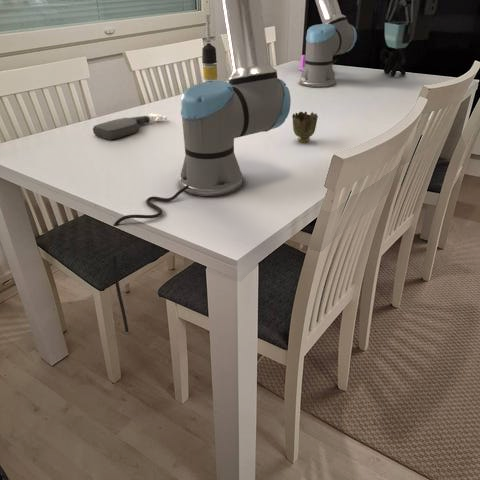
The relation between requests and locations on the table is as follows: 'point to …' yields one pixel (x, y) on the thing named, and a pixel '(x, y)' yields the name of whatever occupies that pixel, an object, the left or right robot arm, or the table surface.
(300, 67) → the bracket
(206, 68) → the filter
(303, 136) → the cup
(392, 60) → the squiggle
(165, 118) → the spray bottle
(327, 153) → the table surface
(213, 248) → the table surface
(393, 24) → the teal square planter
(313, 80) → the right robot arm
